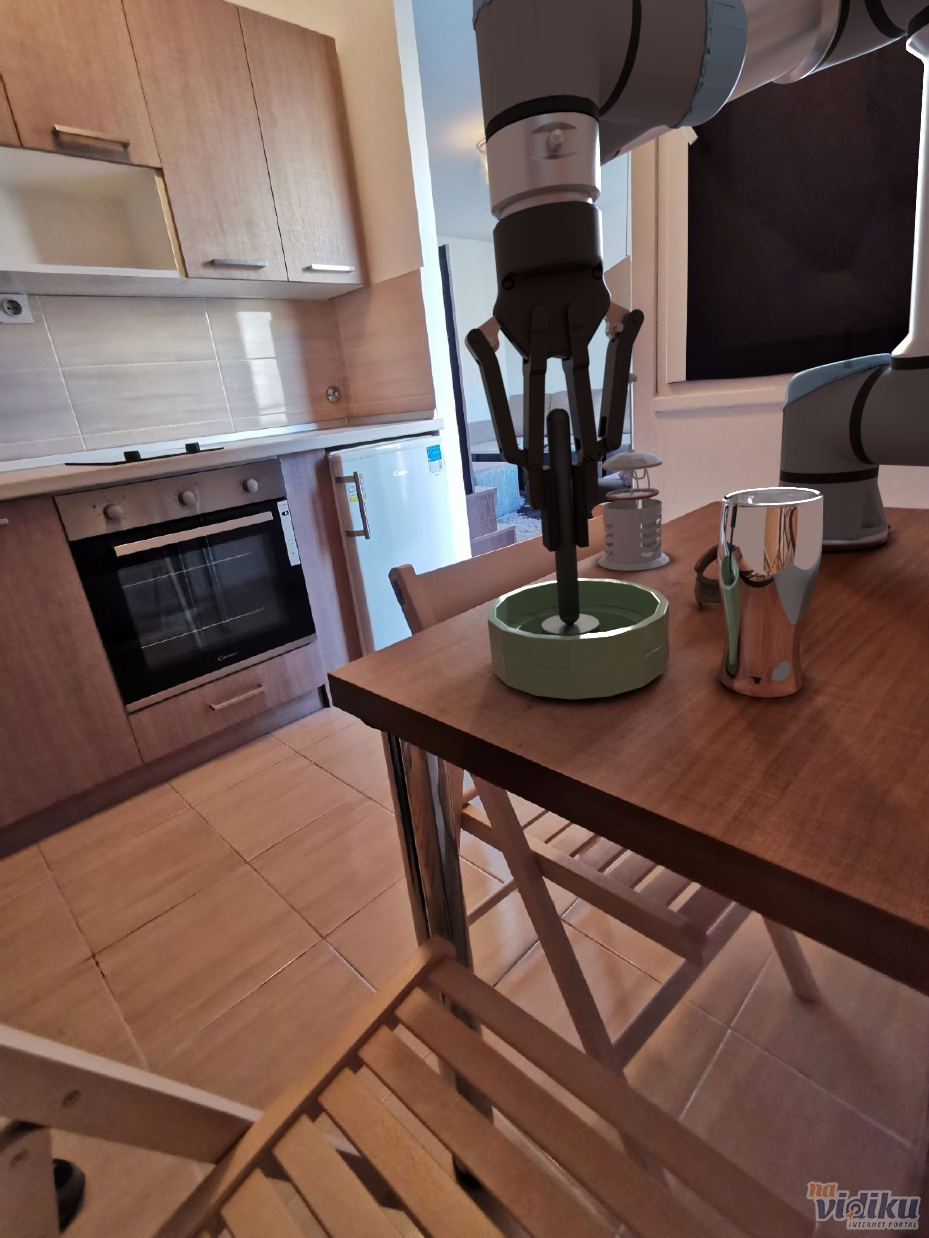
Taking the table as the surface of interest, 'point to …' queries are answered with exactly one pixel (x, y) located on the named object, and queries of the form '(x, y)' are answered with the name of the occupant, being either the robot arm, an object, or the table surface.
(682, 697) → the table surface
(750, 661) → the beer glass
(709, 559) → the brown curved piece
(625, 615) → the bowl
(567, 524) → the rod on round base
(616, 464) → the french press
